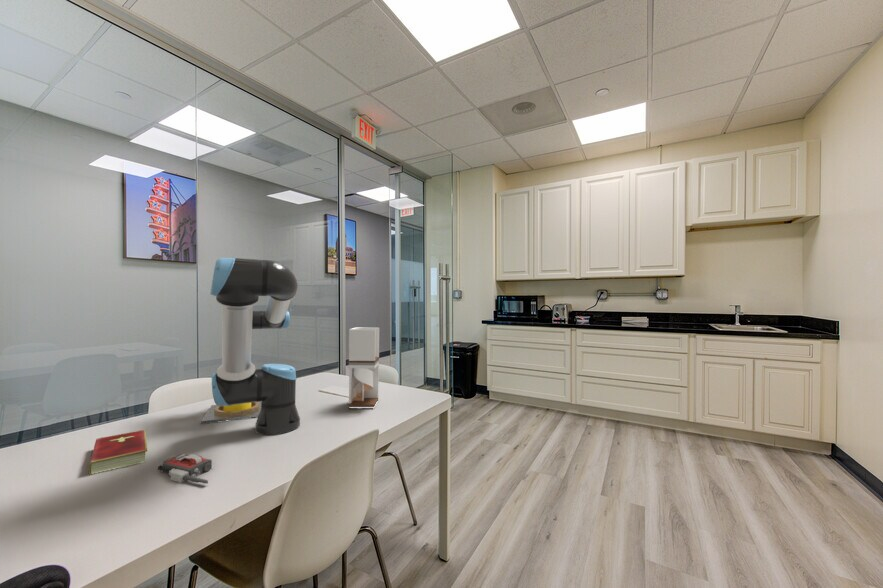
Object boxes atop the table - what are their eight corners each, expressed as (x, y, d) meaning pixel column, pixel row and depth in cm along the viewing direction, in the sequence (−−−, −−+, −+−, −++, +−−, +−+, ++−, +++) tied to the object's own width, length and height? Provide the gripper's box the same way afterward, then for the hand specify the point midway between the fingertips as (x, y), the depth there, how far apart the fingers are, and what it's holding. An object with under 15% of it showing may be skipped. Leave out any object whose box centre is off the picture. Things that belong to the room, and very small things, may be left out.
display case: (348, 408, 152) (349, 329, 153) (353, 401, 163) (355, 327, 163) (374, 409, 152) (375, 329, 153) (378, 402, 163) (379, 327, 164)
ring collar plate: (265, 416, 141) (265, 410, 141) (200, 423, 132) (200, 417, 132) (267, 401, 161) (267, 396, 161) (211, 407, 152) (211, 401, 152)
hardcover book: (88, 477, 93) (88, 461, 93) (94, 451, 109) (95, 437, 109) (147, 463, 101) (147, 449, 101) (145, 441, 117) (145, 428, 117)
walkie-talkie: (148, 476, 94) (202, 489, 87) (149, 460, 94) (203, 472, 87) (181, 462, 102) (233, 473, 96) (182, 447, 102) (233, 457, 96)
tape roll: (254, 405, 152) (255, 383, 152) (245, 412, 142) (246, 389, 143) (229, 406, 151) (230, 384, 151) (219, 413, 141) (219, 390, 141)
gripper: (232, 339, 157) (231, 386, 156) (224, 345, 134) (222, 400, 133) (251, 339, 160) (250, 385, 159) (246, 344, 137) (245, 398, 137)
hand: (237, 392), depth 146 cm, fingers open, 13 cm apart
